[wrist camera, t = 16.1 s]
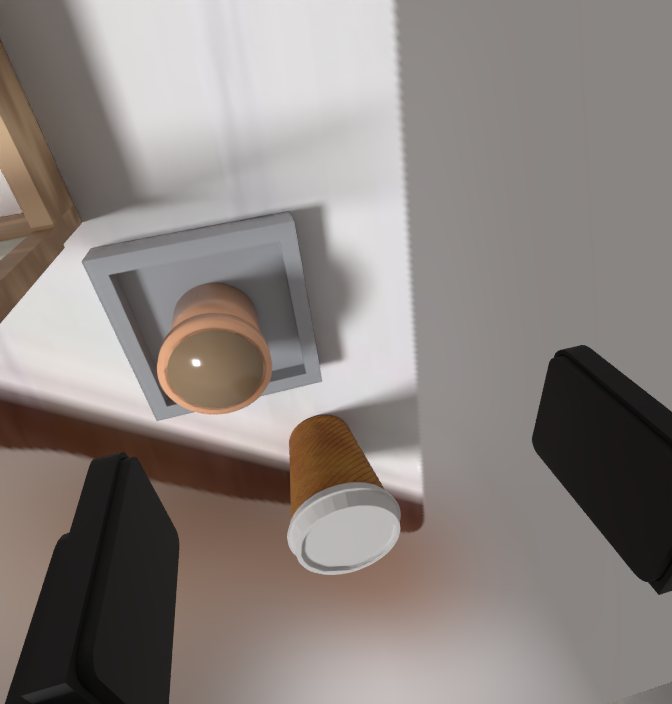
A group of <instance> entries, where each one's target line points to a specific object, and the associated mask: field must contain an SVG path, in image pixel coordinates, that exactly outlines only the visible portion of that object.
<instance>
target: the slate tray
mask: <svg viewBox="0 0 672 704" xmlns="http://www.w3.org/2000/svg"><path fill="white" fill-rule="evenodd" d="M82 264H83V266H84V268H85V270H86V272H87V274H88V276H89V278H90V280H91V283H92V285H93V287H94V289H95V291H96V293H97V295H98V297H99V300H100V302H101V304H102V306H103V308H104V310H105V312H106V314H107V316H108V319H109V321H110V323H111V325H112V327H113V329H114V331H115V333H116V336H117V338H118V340H119V342H120V344H121V346H122V348H123V350H124V353H125V355H126V357H127V359H128V361H129V363H130V365H131V367H132V369H133V372H134V374H135V376H136V378H137V380H138V382H139V384H140V386H141V389H142V391H143V393H144V395H145V397H146V399H147V401H148V403H149V405H150V408H151V410H152V412H153V414H154V416H155V418H156V420H157V421H159V420H164V419H168V418H172V417H176V416H180V415H184V414H189V413H193V412H194V411H191V410H188V409H186V408H184V407H182V406H180V405H178V404H177V403H176V402H174V401H173V400H172V399H171V398H170V397H169V396H168V395H167V394H166V393H165V391H164V390H163V388H162V386H161V385H160V382H159V379H158V374H157V363H158V357H159V352H160V348H161V345H162V343H163V341H164V339H165V337H166V336H167V334H168V333H169V332H170V329H171V323H172V318H173V312H174V308H175V306H176V304H177V302H178V300H179V299H180V298H181V297H182V296H183V295H184V294H185V293H186V292H187V291H188V290H190V289H192V288H194V287H196V286H198V285H202V284H206V283H223V284H228V285H230V286H233V287H235V288H237V289H239V290H241V291H242V292H244V293H245V294H246V295H247V296H248V297H249V298H250V299H251V301H252V302H253V304H254V306H255V308H256V311H257V315H258V321H259V327H260V332H261V333H262V335H263V336H264V338H265V339H266V341H267V343H268V346H269V350H270V355H271V360H272V375H271V379H270V382H269V384H268V386H267V388H266V389H265V391H264V392H263V393H262V395H261V396H264V395H268V394H272V393H276V392H280V391H285V390H289V389H293V388H297V387H301V386H305V385H310V384H314V383H318V382H322V377H321V372H320V366H319V360H318V354H317V349H316V343H315V337H314V331H313V326H312V320H311V314H310V308H309V303H308V297H307V291H306V286H305V280H304V274H303V268H302V263H301V257H300V251H299V245H298V240H297V234H296V228H295V223H294V220H293V218H292V216H291V214H290V212H289V211H288V212H283V213H277V214H272V215H267V216H262V217H256V218H251V219H246V220H240V221H235V222H230V223H224V224H219V225H214V226H209V227H203V228H198V229H193V230H187V231H182V232H177V233H171V234H166V235H161V236H156V237H150V238H145V239H140V240H134V241H129V242H124V243H118V244H113V245H108V246H103V247H97V248H92V249H90V250H89V252H88V253H87V255H86V256H85V257H84V259H83V260H82Z"/></svg>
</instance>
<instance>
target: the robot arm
mask: <svg viewBox="0 0 672 704" xmlns="http://www.w3.org/2000/svg"><path fill="white" fill-rule="evenodd" d="M532 443H533V446H534V449H535V451H536V452H537V454H538V455H539V456H540V458H541V459H542V460H543V461H544V463H545V464H546V465H547V466H548V468H549V469H550V470H551V471H552V473H553V474H554V475H555V476H556V477H557V479H558V480H559V481H560V482H561V483H562V485H563V486H564V487H565V488H566V490H567V491H568V492H569V493H570V495H571V496H572V497H573V498H574V499H575V501H576V502H577V503H578V505H579V506H580V507H581V508H582V509H583V511H584V512H585V513H586V514H587V516H588V517H589V518H590V519H591V521H592V522H593V523H594V524H595V526H596V527H597V528H598V529H599V530H600V531H601V533H602V534H603V535H604V537H605V538H606V539H607V540H608V542H609V543H610V544H611V545H612V546H613V548H614V549H615V550H616V552H617V553H618V554H619V555H620V556H621V558H622V559H623V560H624V561H625V563H626V564H627V565H628V566H629V567H630V569H631V570H632V571H633V573H634V574H635V575H636V576H637V577H638V578H640V579H641V580H643V581H645V582H649V584H650V585H651V586H652V587H653V589H654V590H655V591H656V592H657V593H658V594H659V595H660V594H663V593H666V592H669V591H672V412H671V411H670V410H669V409H668V408H666V407H665V406H664V405H662V404H661V403H660V402H659V401H657V400H656V399H655V398H653V397H652V396H651V395H649V394H648V393H647V392H646V391H644V390H643V389H642V388H641V387H639V386H638V385H637V384H636V383H634V382H633V381H632V380H630V379H629V378H628V377H627V376H625V375H624V374H623V373H621V372H620V371H619V370H618V369H616V368H615V367H614V366H612V365H611V364H610V363H608V362H607V361H606V360H605V359H603V358H602V357H601V356H600V355H598V354H597V353H596V352H594V351H593V350H592V349H591V348H589V347H587V346H585V345H580V346H576V347H572V348H567V349H563V350H560V351H557V352H556V353H555V356H554V358H552V359H551V360H550V362H549V366H548V370H547V374H546V379H545V383H544V388H543V392H542V396H541V401H540V405H539V410H538V414H537V419H536V423H535V428H534V432H533V436H532ZM178 559H179V538H178V534H177V531H176V529H175V527H174V525H173V523H172V522H171V519H170V518H169V516H168V514H167V512H166V510H165V508H164V506H163V505H162V503H161V501H160V499H159V497H158V495H157V493H156V492H155V490H154V488H153V486H152V484H151V482H150V480H149V479H148V477H147V475H146V473H145V471H144V469H143V467H142V466H141V464H140V462H139V460H138V459H137V458H136V457H132V458H129V457H128V456H127V454H125V453H124V452H123V453H117V454H113V455H109V456H105V457H100V458H96V459H93V460H92V461H91V463H90V466H89V469H88V472H87V476H86V479H85V483H84V486H83V489H82V492H81V496H80V499H79V502H78V506H77V509H76V513H75V516H74V519H73V523H72V526H71V529H70V532H69V533H67V534H64V535H62V537H61V538H60V539H59V540H58V542H57V544H56V546H55V549H54V552H53V555H52V558H51V561H50V564H49V567H48V571H47V573H46V577H45V580H44V583H43V586H42V589H41V592H40V596H39V599H38V602H37V605H36V608H35V611H34V614H33V617H32V621H31V623H30V627H29V630H28V633H27V636H26V639H25V642H24V645H23V648H22V652H21V655H20V658H19V661H18V664H17V667H16V671H15V674H14V677H13V680H12V683H11V686H10V689H9V692H8V696H7V699H6V702H5V704H169V693H170V678H171V663H172V648H173V633H174V618H175V604H176V588H177V574H178ZM610 704H672V682H670V683H667V684H665V685H662V686H659V687H656V688H653V689H650V690H647V691H644V692H641V693H638V694H636V695H633V696H630V697H627V698H624V699H621V700H618V701H616V702H613V703H610Z"/></svg>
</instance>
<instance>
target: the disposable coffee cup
mask: <svg viewBox="0 0 672 704" xmlns="http://www.w3.org/2000/svg"><path fill="white" fill-rule="evenodd" d="M289 454H290V490H291V522H290V526H289V529H288V534H287V539H288V544H289V547H290V549H291V550H292V552H293V553H294V554H295V555H296V556H297V558H298V561H299V563H300V564H301V565H302V566H303V567H305V568H306V569H308V570H310V571H312V572H316V573H320V574H325V575H337V574H344V573H349V572H353V571H356V570H359V569H362V568H364V567H367V566H369V565H371V564H373V563H374V562H376V561H377V560H379V559H380V558H382V557H383V556H384V555H386V554H387V553H388V552H389V551H390V550H391V548H392V547H393V546H394V545H395V543H396V541H397V540H398V537H399V534H400V523H399V521H400V518H401V515H400V508H399V505H398V503H397V502H396V500H395V499H394V497H393V496H391V495H390V494H389V493H388V492H387V491H386V490H385V489H384V488H383V486H382V484H381V482H380V481H379V479H378V477H377V476H376V474H375V472H374V471H373V469H372V467H371V466H370V463H369V462H368V460H367V458H366V457H365V455H364V453H363V452H362V450H361V448H360V446H359V445H358V444H357V441H356V440H355V438H354V436H353V434H352V433H351V432H350V429H349V427H348V426H347V424H346V423H345V422H344V421H343V420H341V419H340V418H338V417H335V416H331V415H320V416H315V417H312V418H309V419H307V420H305V421H303V422H302V423H300V424H299V425H298V426H297V427H296V428H295V429H294V430H293V432H292V434H291V436H290V440H289Z"/></svg>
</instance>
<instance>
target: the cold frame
mask: <svg viewBox="0 0 672 704" xmlns="http://www.w3.org/2000/svg"><path fill="white" fill-rule="evenodd" d="M0 169H1V171H2V173H3V175H4V177H5V179H6V181H7V182H8V184H9V186H10V188H11V190H12V192H13V194H14V196H15V198H16V200H17V202H18V204H19V206H20V208H21V210H22V211H23V213H22V214H17V215H11V216H5V217H0V323H1V322H2V321H3V320H4V318H5V317H6V316H7V315H8V314H9V313H10V311H11V310H12V309H13V308H14V307H15V305H16V304H17V303H18V302H19V301H20V300H21V298H22V297H23V296H24V295H25V294H26V292H27V291H28V290H29V289H30V288H31V287H32V285H33V284H34V283H35V282H36V281H37V280H38V278H39V277H40V276H41V275H42V274H43V272H44V271H45V270H46V269H47V268H48V267H49V265H50V264H51V263H52V262H53V261H54V260H55V258H56V257H57V256H58V255H59V254H60V252H61V251H62V250H63V249H64V248H65V247H64V245H63V244H64V243H65V242H66V240H67V239H68V238H69V237H70V236H71V235H72V234H73V232H74V231H75V230H76V229H77V228H78V227H79V226H80V224H81V223H82V221H81V219H80V217H79V215H78V212H77V210H76V208H75V206H74V203H73V201H72V199H71V197H70V194H69V192H68V190H67V188H66V185H65V183H64V181H63V179H62V177H61V174H60V172H59V170H58V168H57V165H56V163H55V161H54V159H53V156H52V154H51V152H50V150H49V148H48V145H47V143H46V141H45V139H44V136H43V134H42V132H41V130H40V127H39V125H38V123H37V121H36V118H35V116H34V114H33V112H32V110H31V107H30V105H29V103H28V101H27V98H26V96H25V94H24V92H23V89H22V87H21V85H20V83H19V81H18V78H17V76H16V74H15V72H14V69H13V67H12V65H11V63H10V60H9V58H8V56H7V54H6V51H5V49H4V47H3V45H2V43H1V40H0Z"/></svg>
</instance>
